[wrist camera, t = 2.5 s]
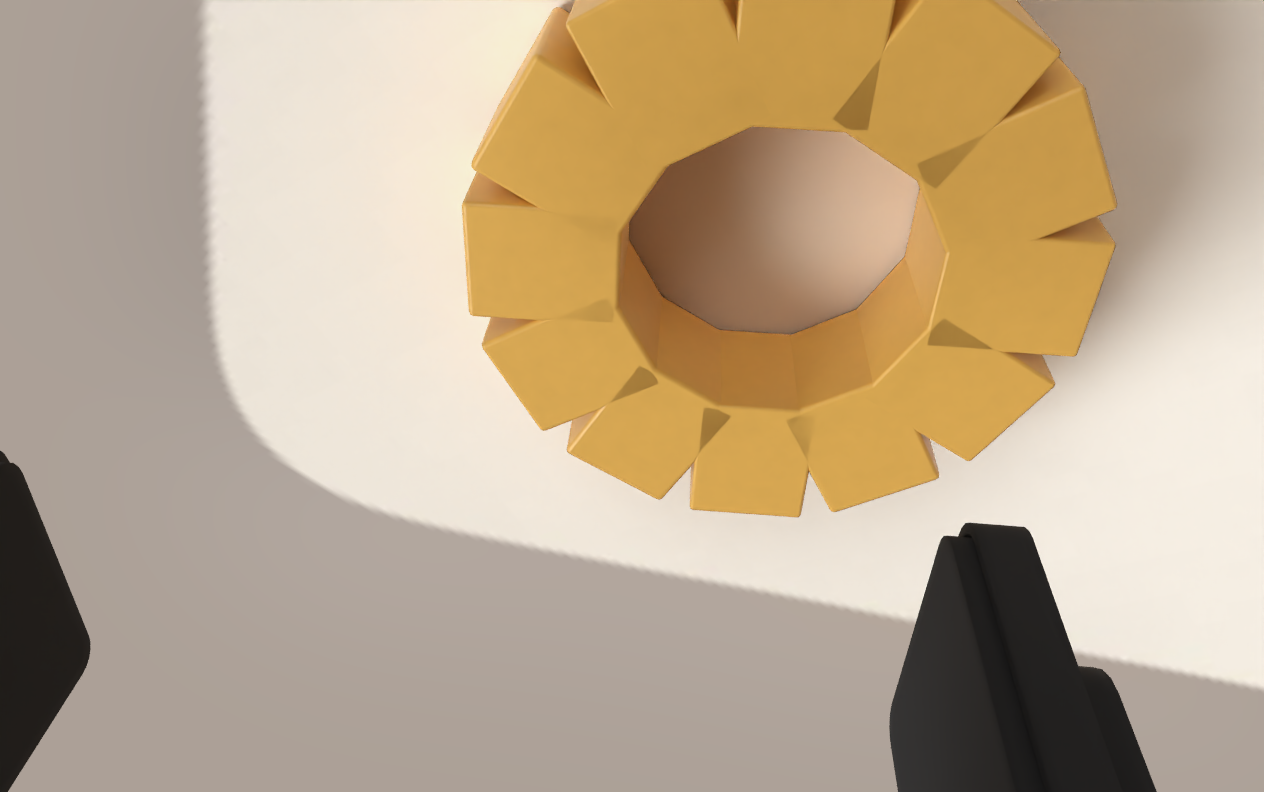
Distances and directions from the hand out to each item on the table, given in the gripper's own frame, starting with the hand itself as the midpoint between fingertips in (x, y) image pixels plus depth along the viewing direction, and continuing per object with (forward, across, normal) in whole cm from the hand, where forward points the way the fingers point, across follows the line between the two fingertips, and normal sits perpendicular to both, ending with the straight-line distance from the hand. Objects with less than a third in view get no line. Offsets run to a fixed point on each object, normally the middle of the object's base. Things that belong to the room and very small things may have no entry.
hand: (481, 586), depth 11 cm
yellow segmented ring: (+9, -3, 0) cm, 9 cm away
